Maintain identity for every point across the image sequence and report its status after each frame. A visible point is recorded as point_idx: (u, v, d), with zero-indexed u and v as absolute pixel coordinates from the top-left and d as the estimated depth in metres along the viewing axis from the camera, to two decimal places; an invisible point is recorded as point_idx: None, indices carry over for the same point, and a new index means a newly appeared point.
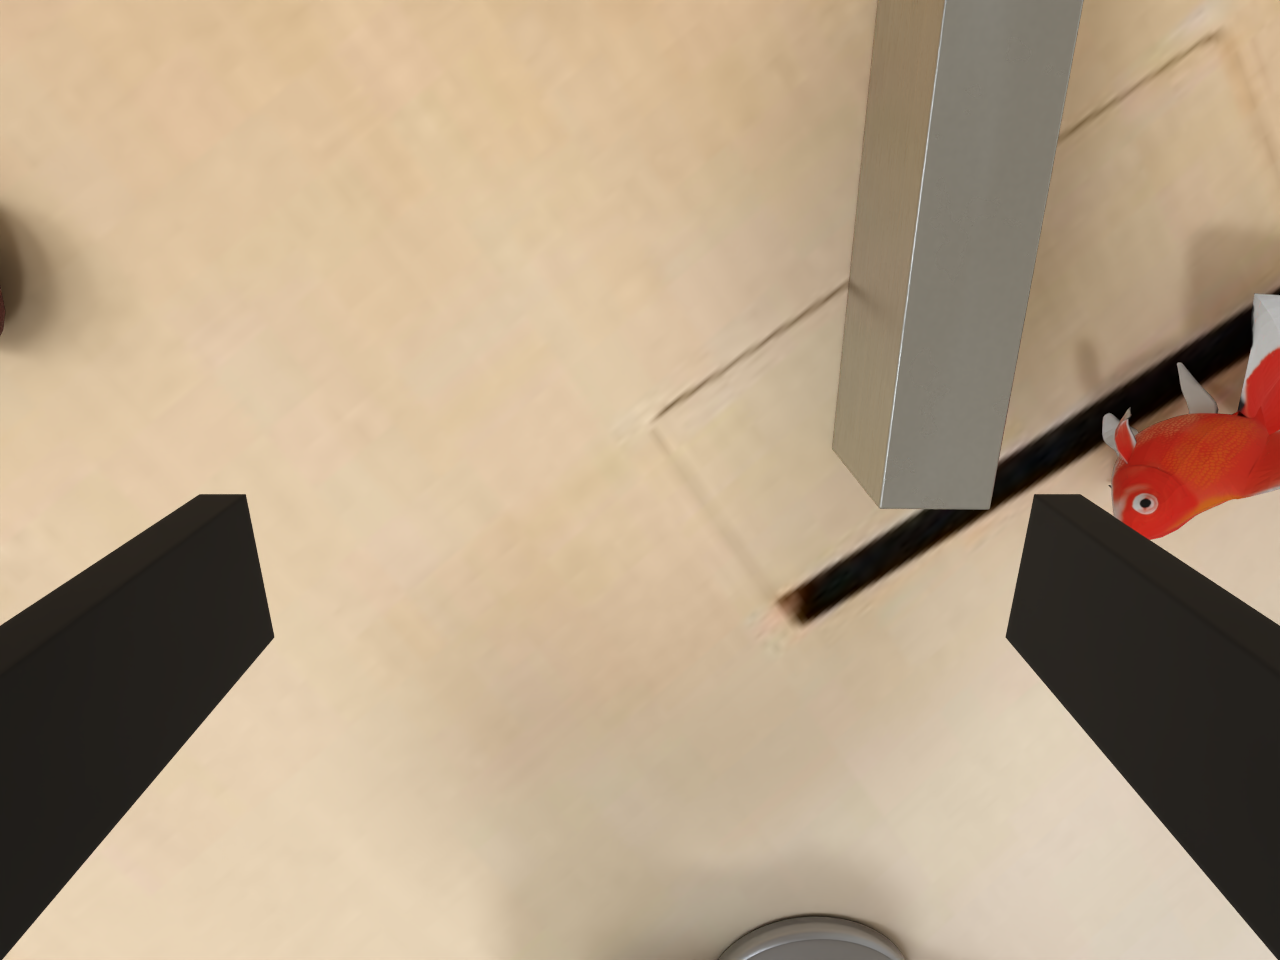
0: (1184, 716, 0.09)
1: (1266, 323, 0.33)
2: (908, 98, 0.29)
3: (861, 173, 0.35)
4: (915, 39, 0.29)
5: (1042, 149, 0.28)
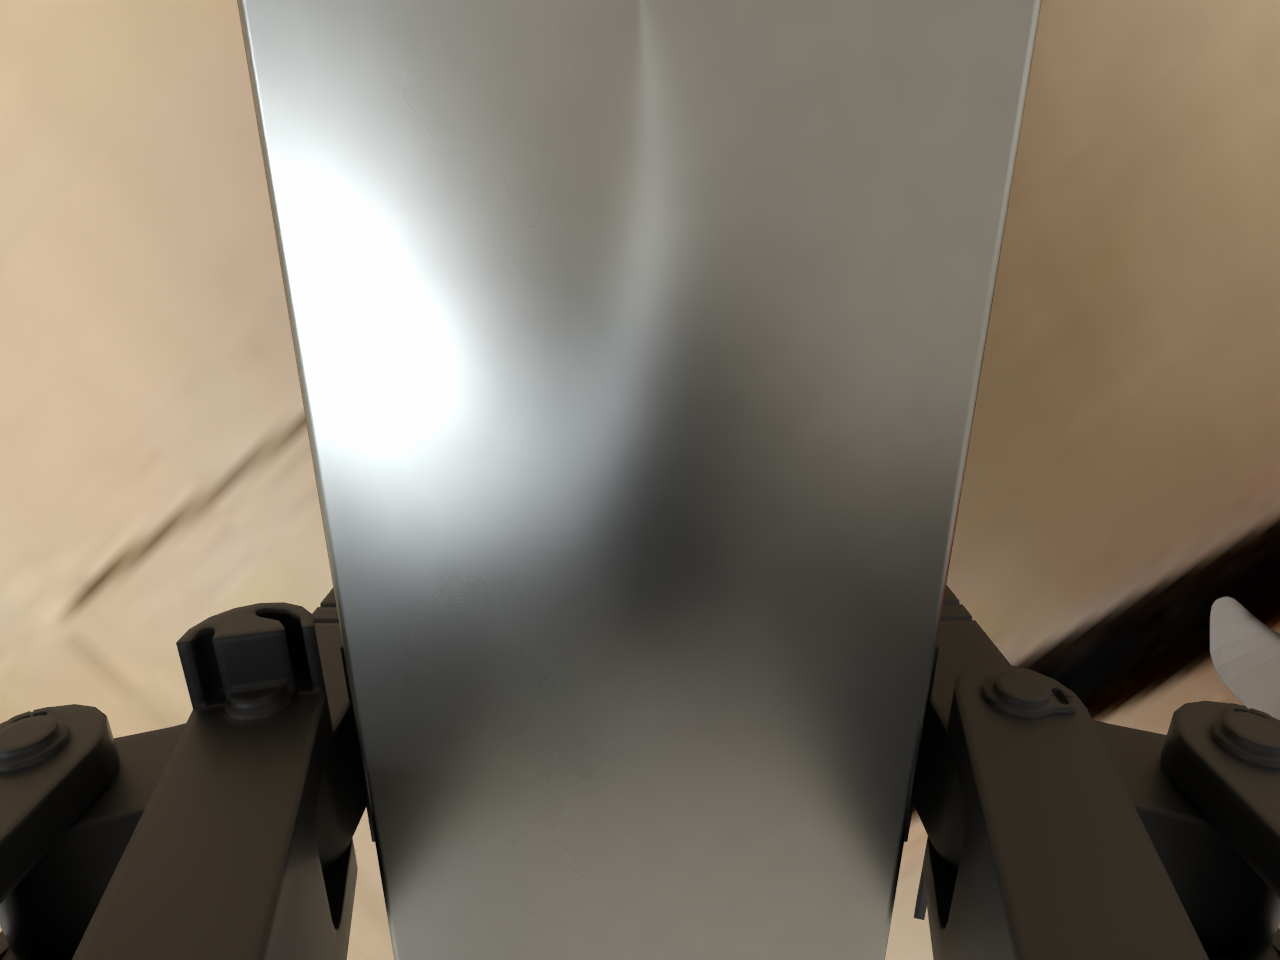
0: None
1: None
2: None
3: None
4: None
5: None
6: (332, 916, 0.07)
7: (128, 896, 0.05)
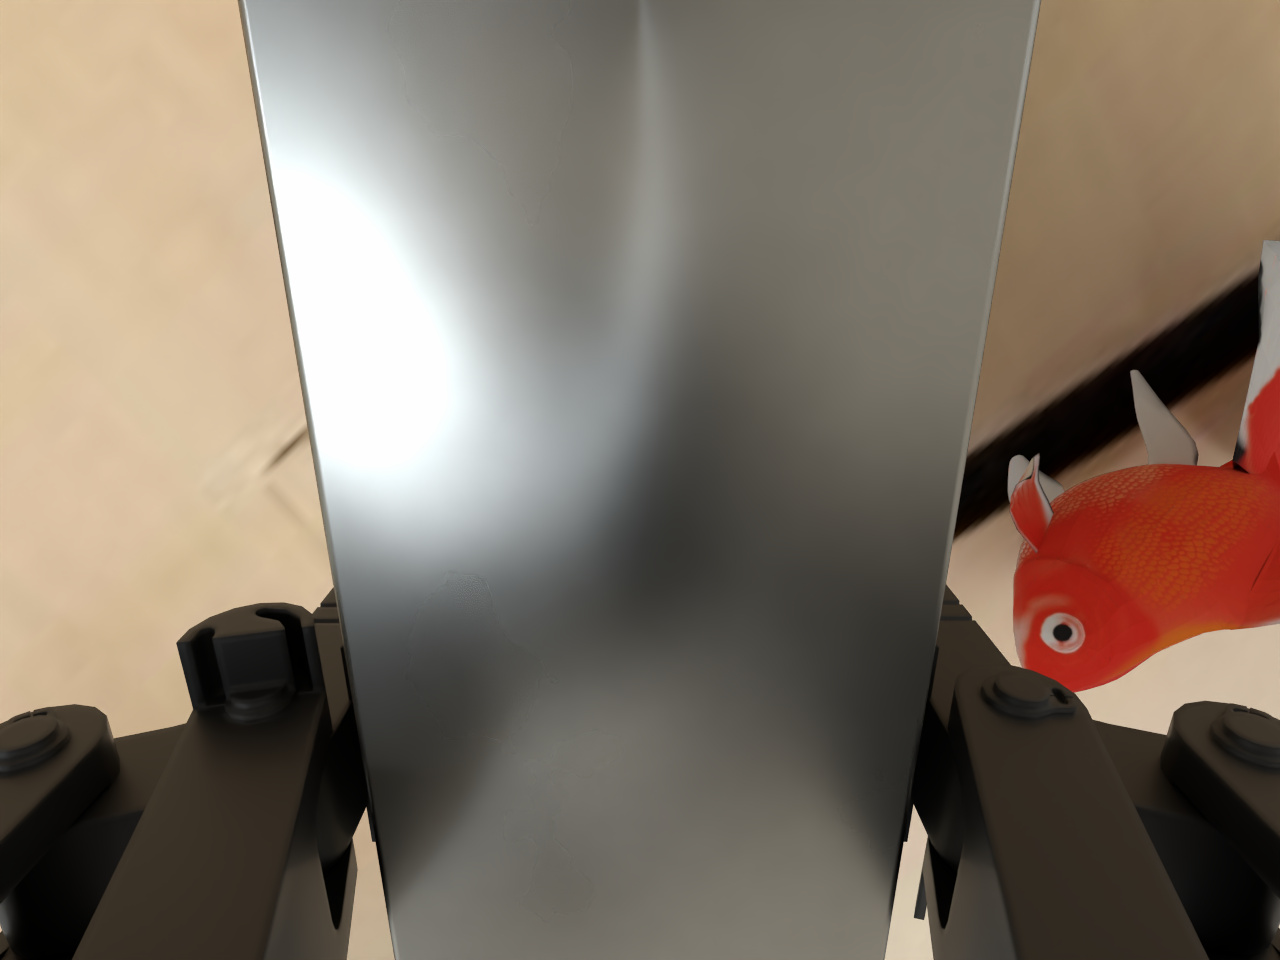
0: None
1: None
2: None
3: None
4: None
5: None
6: (332, 916, 0.07)
7: (128, 896, 0.05)
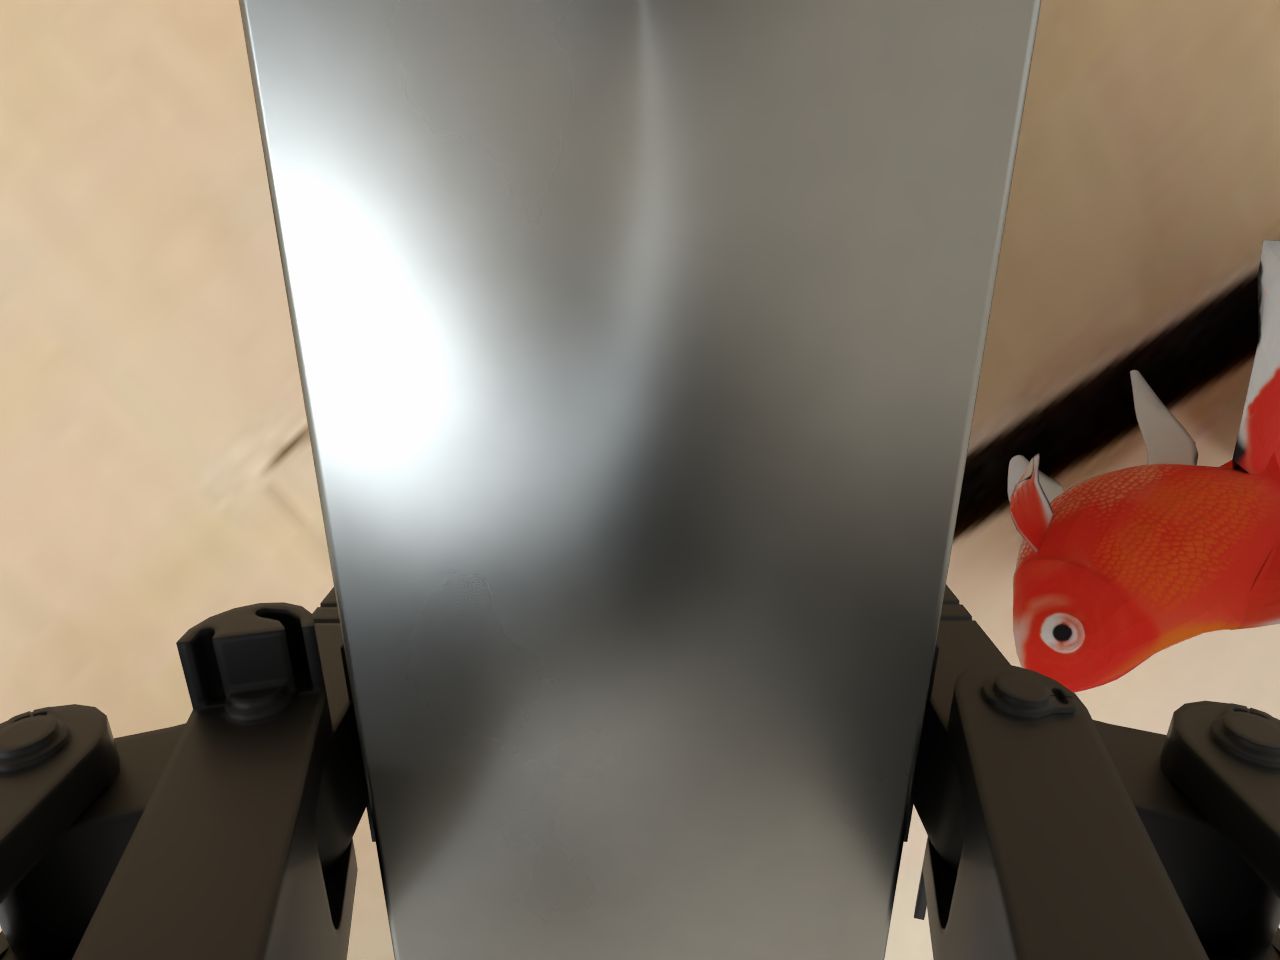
0: None
1: None
2: None
3: None
4: None
5: None
6: (332, 916, 0.07)
7: (128, 896, 0.05)
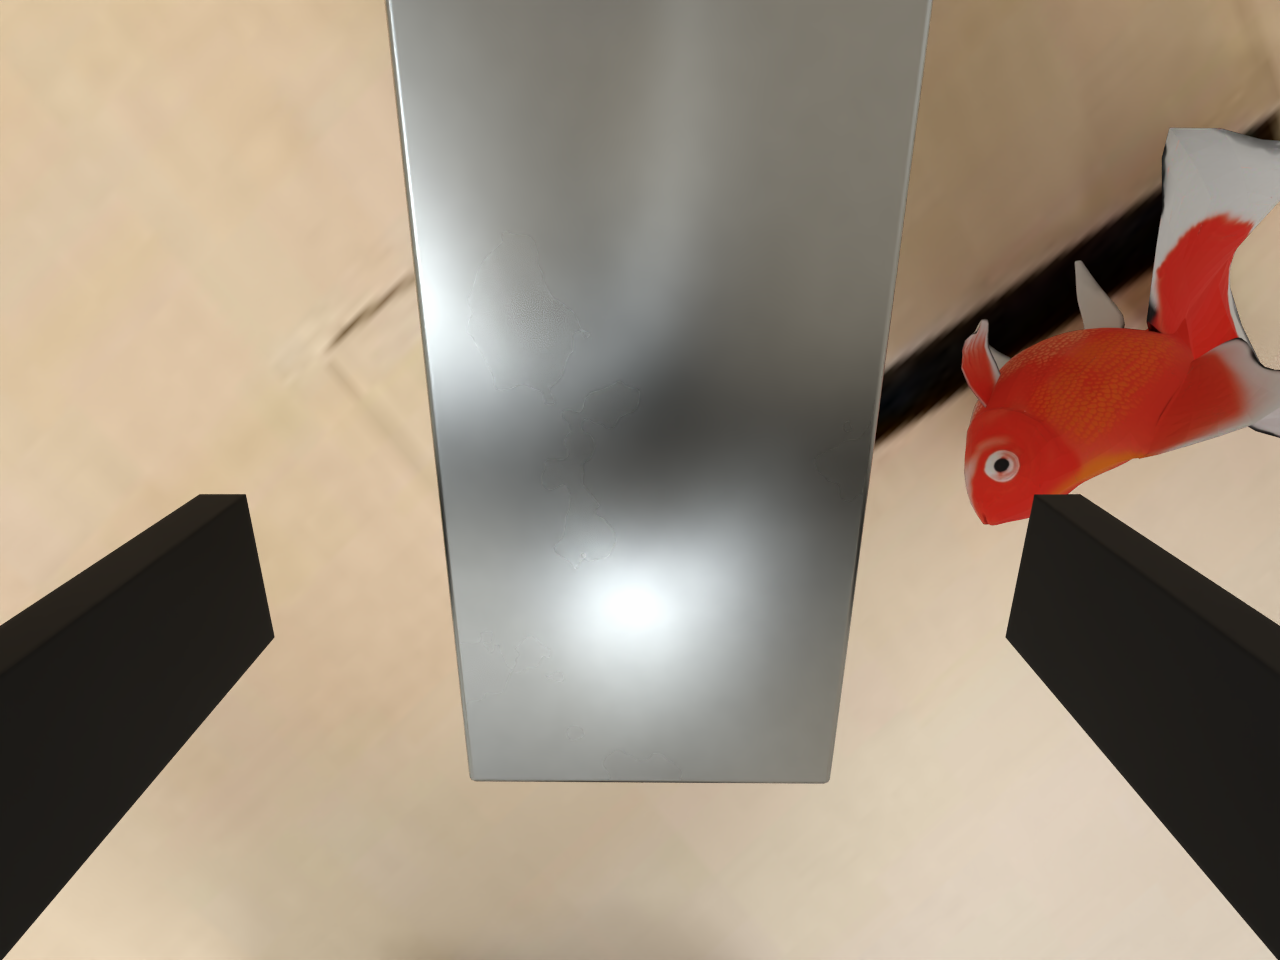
0: (1184, 716, 0.09)
1: (1186, 175, 0.20)
2: None
3: None
4: None
5: None
6: None
7: None
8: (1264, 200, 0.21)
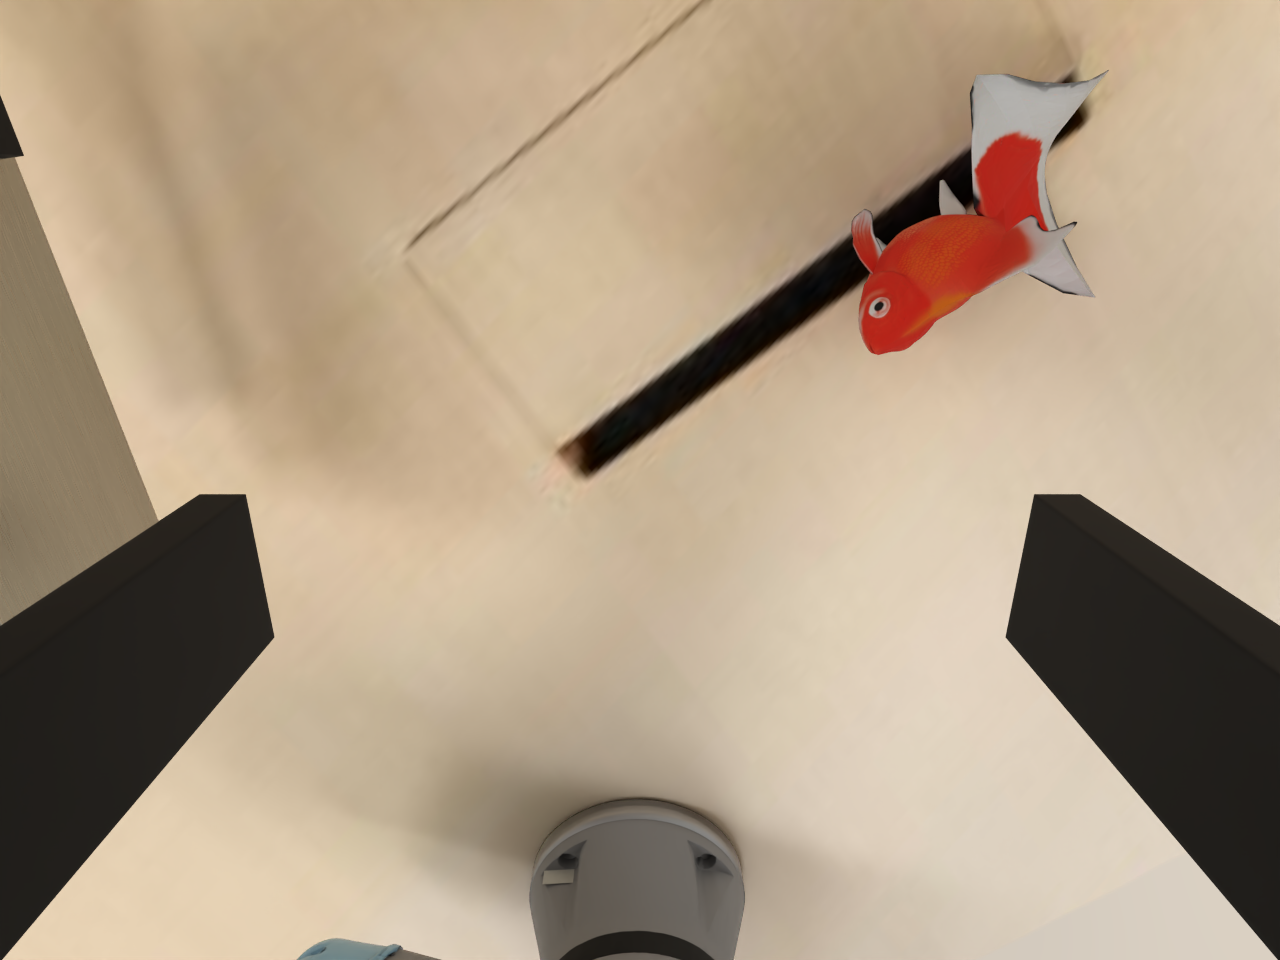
0: (1184, 716, 0.09)
1: (988, 105, 0.31)
2: None
3: None
4: None
5: None
6: None
7: None
8: (1045, 124, 0.32)
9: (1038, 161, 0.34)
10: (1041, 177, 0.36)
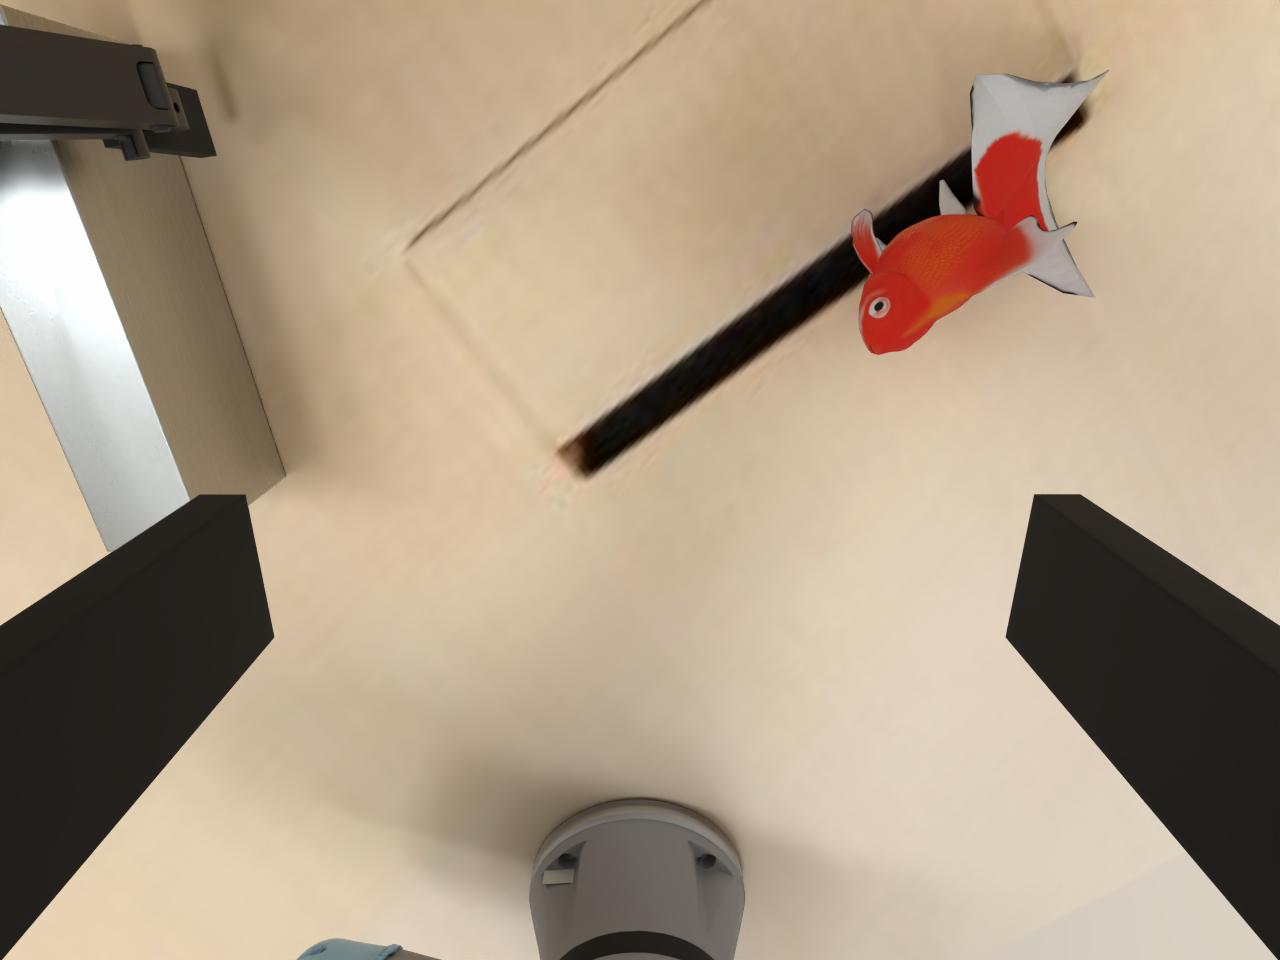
0: (1184, 716, 0.09)
1: (988, 105, 0.31)
2: None
3: None
4: None
5: (68, 219, 0.30)
6: None
7: None
8: (1045, 124, 0.32)
9: (1038, 161, 0.34)
10: (1041, 177, 0.36)
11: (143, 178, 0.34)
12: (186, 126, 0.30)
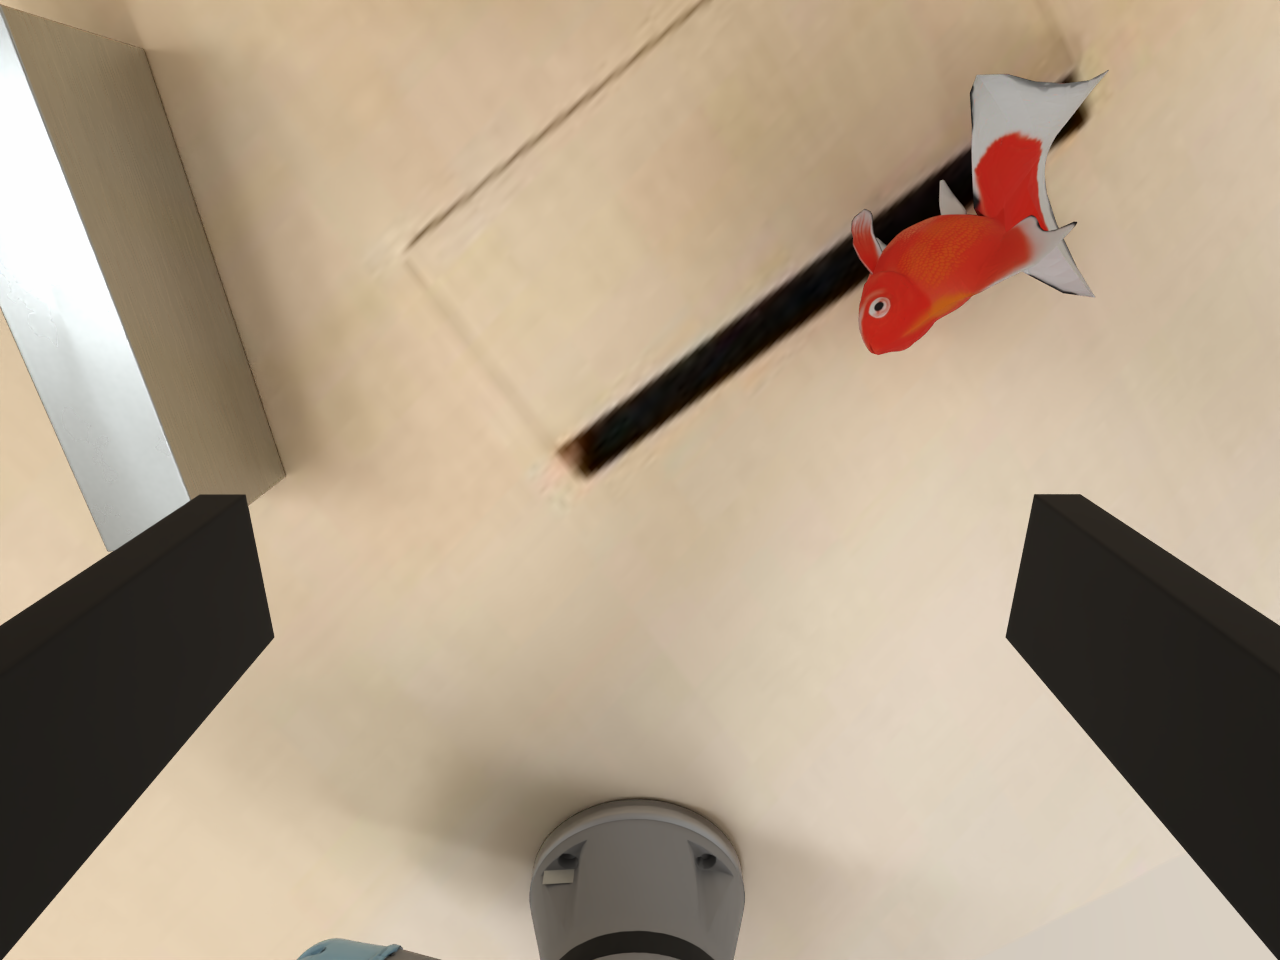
0: (1184, 716, 0.09)
1: (988, 105, 0.31)
2: None
3: None
4: None
5: (68, 219, 0.30)
6: None
7: None
8: (1045, 124, 0.32)
9: (1038, 161, 0.34)
10: (1041, 177, 0.36)
11: (143, 178, 0.34)
12: None
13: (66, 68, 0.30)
